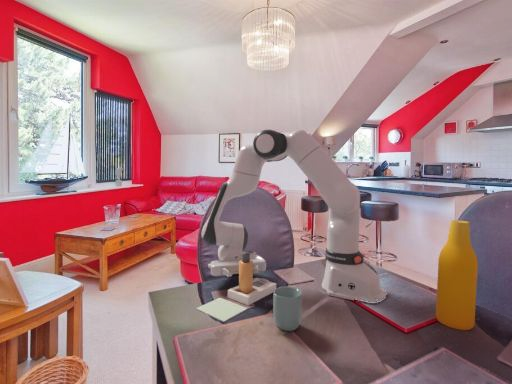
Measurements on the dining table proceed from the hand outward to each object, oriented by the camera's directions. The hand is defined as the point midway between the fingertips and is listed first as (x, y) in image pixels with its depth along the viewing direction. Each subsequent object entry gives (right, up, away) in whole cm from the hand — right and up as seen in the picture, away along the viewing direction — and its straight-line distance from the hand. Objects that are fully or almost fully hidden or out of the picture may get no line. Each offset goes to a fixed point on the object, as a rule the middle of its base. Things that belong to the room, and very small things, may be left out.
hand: (243, 273), depth 101 cm
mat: (-6, -9, -11) cm, 15 cm away
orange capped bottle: (+1, -7, -3) cm, 8 cm away
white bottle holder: (+3, -8, 0) cm, 9 cm away
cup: (+13, -10, -20) cm, 25 cm away
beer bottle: (+61, -10, -16) cm, 64 cm away
